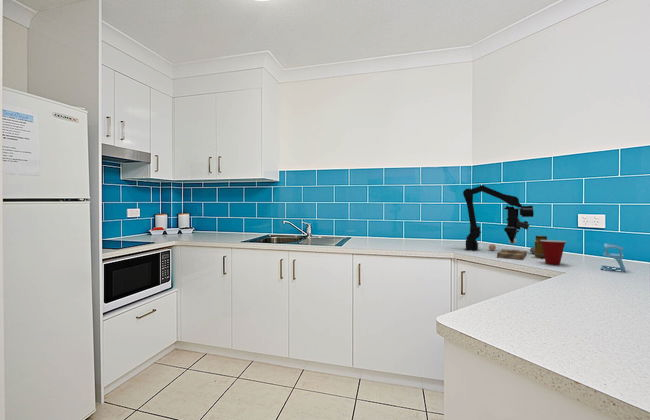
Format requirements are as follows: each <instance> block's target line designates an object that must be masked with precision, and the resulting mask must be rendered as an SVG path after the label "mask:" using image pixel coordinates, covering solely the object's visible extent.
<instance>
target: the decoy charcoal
mask: <svg viewBox="0 0 650 420" xmlns="http://www.w3.org/2000/svg"><path fill="white" fill-rule="evenodd" d="M529 252H530V253H531V254H533V255H535V246H532V247H530V249H529Z"/></svg>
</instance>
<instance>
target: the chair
mask: <svg viewBox="0 0 650 420" xmlns="http://www.w3.org/2000/svg"><path fill="white" fill-rule="evenodd" d="M603 245H604V252H603V257H605V258H611V259H613V260H615V261H616V262H617V263H618V265H619V267H617V266H616V267H615V266H611V265H609V266H608V265H601V264H600V270H601V269H605V270H604V271H607V270H621V271H620V272H622V271H626V272H627V270H626V266H625V265H624V262H623V259H624V254H623V251H624V247H623V246H620V245H617V244H615V243H607V242H606V243H604V244H603ZM608 249H616V250H618V253H610V252H608ZM603 267H609V268H603ZM612 268H616V269H612Z"/></svg>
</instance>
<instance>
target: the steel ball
mask: <svg viewBox="0 0 650 420" xmlns="http://www.w3.org/2000/svg"><path fill="white" fill-rule="evenodd" d="M517 241H518V240H517V238H516V237H515V238H514V241H513V243H511V242H510V239H509V238H508V243H509V244H510V245H515V244H516V243H517Z"/></svg>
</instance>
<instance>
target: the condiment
mask: <svg viewBox="0 0 650 420" xmlns="http://www.w3.org/2000/svg"><path fill="white" fill-rule="evenodd" d="M540 240H548V236H546V235H535V239H534V247H535V254H534V256H532V258H534V259H535V258H536V259H543V260H545V257H544V253H543V247H542V244H541V241H540Z"/></svg>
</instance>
